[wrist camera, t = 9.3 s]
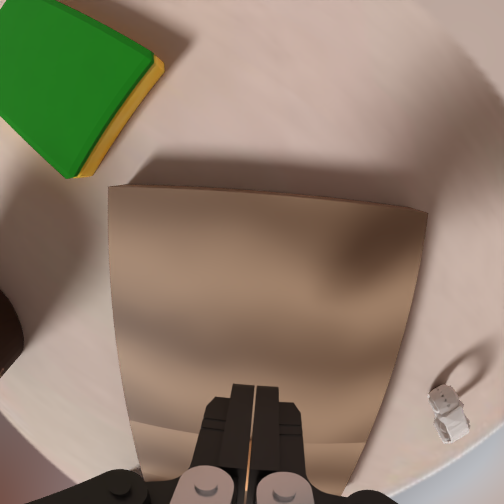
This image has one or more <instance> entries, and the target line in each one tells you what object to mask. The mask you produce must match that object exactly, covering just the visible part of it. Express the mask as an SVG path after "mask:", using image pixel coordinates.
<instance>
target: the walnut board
mask: <svg viewBox="0 0 504 504" xmlns="http://www.w3.org/2000/svg"><path fill="white" fill-rule="evenodd" d="M427 219H428V213H426V212H423V211H420V210H416V209H413V208H409V207H402V206H395V205H387V204H380V203H372V202H364V201H356V200H348V199H339V198H330V197H321V196H311V195H301V194H290V193H279V192H267V191H254V190H240V189H225V188H208V187H189V186H166V185H132V184H126V185H118V186H110V187H108V242H109V267H110V283H111V297H112V308H113V319H114V328H115V336H116V344H117V352H118V359H119V366H120V372H121V379H122V385H123V390H124V396H125V401H126V406H127V411H128V416H129V421H130V426H131V430H132V435H133V439H134V443H135V448H136V452H137V456H138V460H139V463H140V467H141V471H142V474H143V478H144V481H145V482H150V481H167V480H172V479H175V478H177V477H179V476H181V475H182V474H183V473H184V472H186V471H187V470H188V468H189V467H190V465H191V462H192V458H193V454H194V450H195V447H196V443H197V439H198V435H199V432H200V429H201V424H202V420H203V417H204V413H205V409H206V406H207V405H208V404H209V403H210V402H211V401H212V400H213V398H214V397H215V396H216V397H225V398H230V396H231V390H232V385H233V383H234V384H246V385H255V388H254V399H253V411H252V422H251V433H250V440H252V431H253V420H254V409H255V399H256V388H257V385H259V386H274V387H279V402H294V404H295V405H296V407H297V408H298V410H299V411H300V412H301V420H302V431H303V443H304V455H305V467H306V475H307V478H308V480H309V481H310V483H311V484H312V485H313V486H314V487H316V488H317V489H319V490H320V491H322V492H325V493H328V494H333V495H337V496H341V494H342V493H343V491H344V489H345V487H346V485H347V483H348V481H349V479H350V477H351V474H352V472H353V470H354V468H355V466H356V464H357V462H358V459H359V457H360V455H361V453H362V450H363V448H364V446H365V444H366V441H367V439H368V436H369V434H370V432H371V429H372V427H373V424H374V422H375V419H376V417H377V414H378V411H379V409H380V406H381V403H382V401H383V398H384V395H385V392H386V389H387V386H388V384H389V381H390V378H391V375H392V371H393V368H394V365H395V362H396V359H397V355H398V352H399V349H400V345H401V342H402V338H403V335H404V331H405V327H406V324H407V320H408V316H409V312H410V308H411V304H412V299H413V295H414V291H415V286H416V282H417V277H418V272H419V267H420V262H421V256H422V251H423V245H424V239H425V232H426V226H427ZM246 499H247V491H245V496H244V504H246Z"/></svg>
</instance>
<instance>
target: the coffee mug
mask: <svg viewBox="0 0 504 504" xmlns="http://www.w3.org/2000/svg"><path fill="white" fill-rule="evenodd" d="M23 346H24V338H23V332H22V328H21V324H20V321H19V319H18V316H17V314H16V312H15V310H14V308H13V306H12V305H11V303H10V301H9V300H8V298H7V297H6V296H5V295H4V293H3V292H2V291H1V290H0V378H1V377H2V376H3V374H4V373H5V372H6V371H7V370H8V368H9V367H10V366H11V365H12V364H13V363H14V362H15V360H16V359H17V358H18V357H19V356H20V355H21V353H22V351H23Z"/></svg>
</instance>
